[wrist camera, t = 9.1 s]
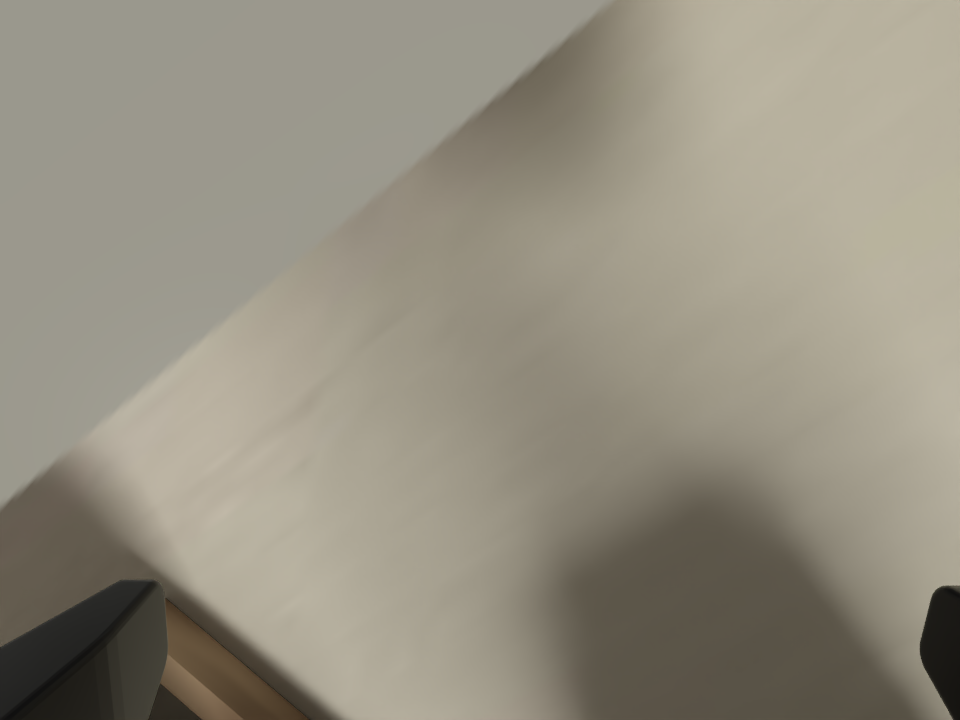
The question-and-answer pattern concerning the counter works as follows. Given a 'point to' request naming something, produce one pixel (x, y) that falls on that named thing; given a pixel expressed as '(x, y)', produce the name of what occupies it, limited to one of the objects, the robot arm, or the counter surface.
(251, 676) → the frame
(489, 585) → the counter surface
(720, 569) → the counter surface
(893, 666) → the counter surface
